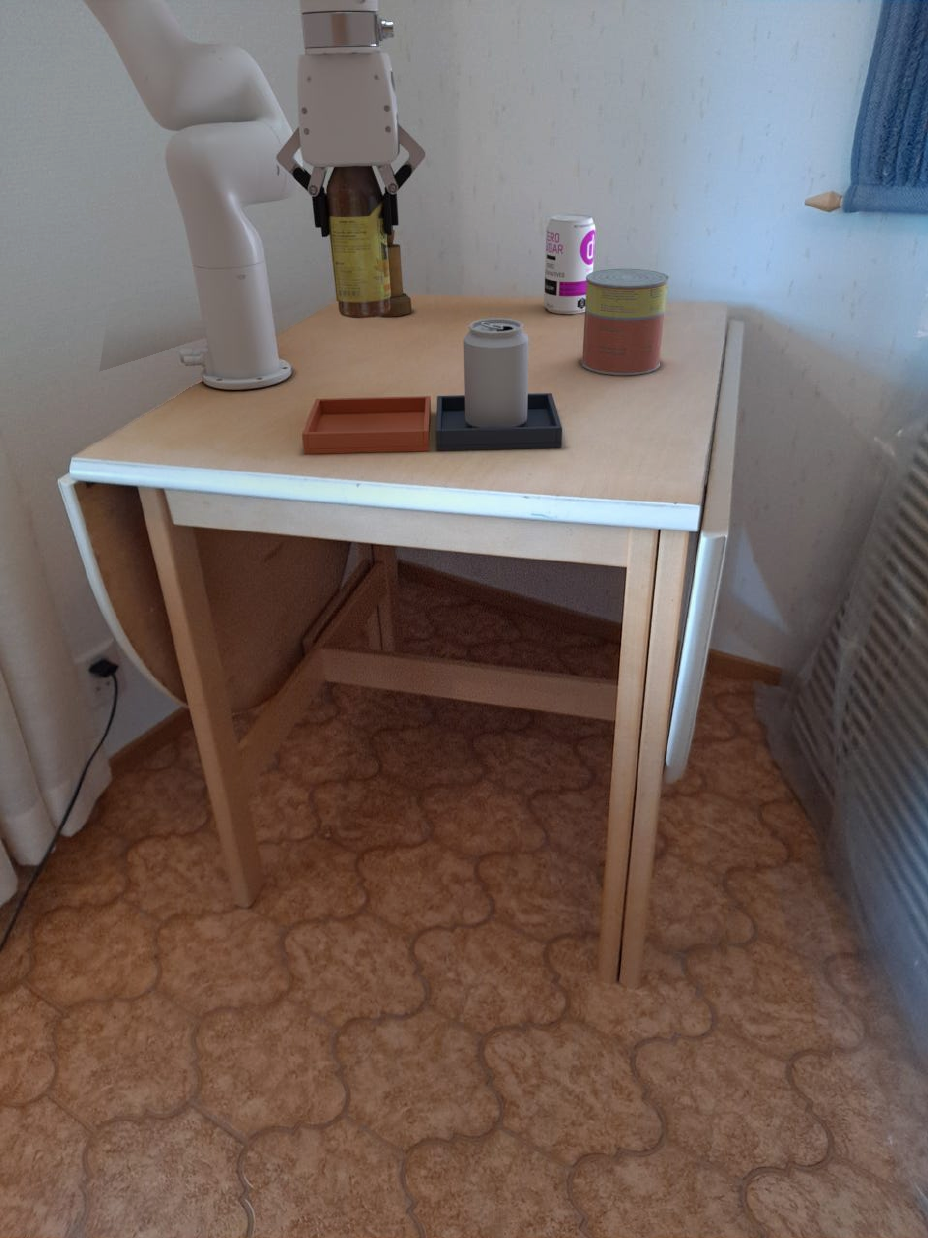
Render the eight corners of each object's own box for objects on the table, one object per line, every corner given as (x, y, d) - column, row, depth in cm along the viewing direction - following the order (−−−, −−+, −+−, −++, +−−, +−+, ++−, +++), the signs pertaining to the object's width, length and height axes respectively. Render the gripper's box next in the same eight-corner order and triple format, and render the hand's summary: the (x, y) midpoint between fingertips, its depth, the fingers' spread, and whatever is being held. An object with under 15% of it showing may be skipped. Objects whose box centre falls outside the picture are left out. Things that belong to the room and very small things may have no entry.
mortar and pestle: (371, 309, 156) (363, 200, 146) (406, 306, 158) (400, 197, 148) (379, 318, 151) (371, 205, 141) (415, 314, 152) (410, 202, 143)
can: (522, 438, 100) (524, 332, 94) (459, 434, 102) (456, 330, 95) (531, 415, 106) (533, 315, 100) (471, 412, 108) (470, 313, 101)
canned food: (675, 362, 126) (685, 275, 119) (628, 380, 119) (636, 289, 113) (613, 348, 132) (619, 265, 126) (565, 364, 126) (569, 277, 119)
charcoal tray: (436, 450, 99) (435, 430, 98) (437, 414, 109) (436, 395, 108) (561, 447, 99) (562, 427, 98) (551, 411, 109) (551, 392, 108)
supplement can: (597, 306, 154) (603, 215, 146) (577, 317, 149) (582, 222, 141) (557, 301, 158) (560, 212, 150) (536, 311, 152) (538, 219, 144)
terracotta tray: (304, 453, 99) (301, 434, 98) (318, 417, 110) (315, 398, 108) (429, 450, 99) (428, 430, 98) (431, 414, 109) (430, 395, 108)
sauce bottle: (399, 316, 98) (387, 113, 87) (345, 323, 96) (327, 115, 85) (381, 304, 103) (369, 111, 92) (330, 310, 101) (311, 113, 90)
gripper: (429, 35, 88) (436, 226, 98) (260, 39, 88) (284, 230, 98) (428, 33, 82) (436, 237, 92) (246, 38, 82) (273, 242, 91)
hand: (357, 232), depth 95 cm, fingers closed on sauce bottle, 6 cm apart
